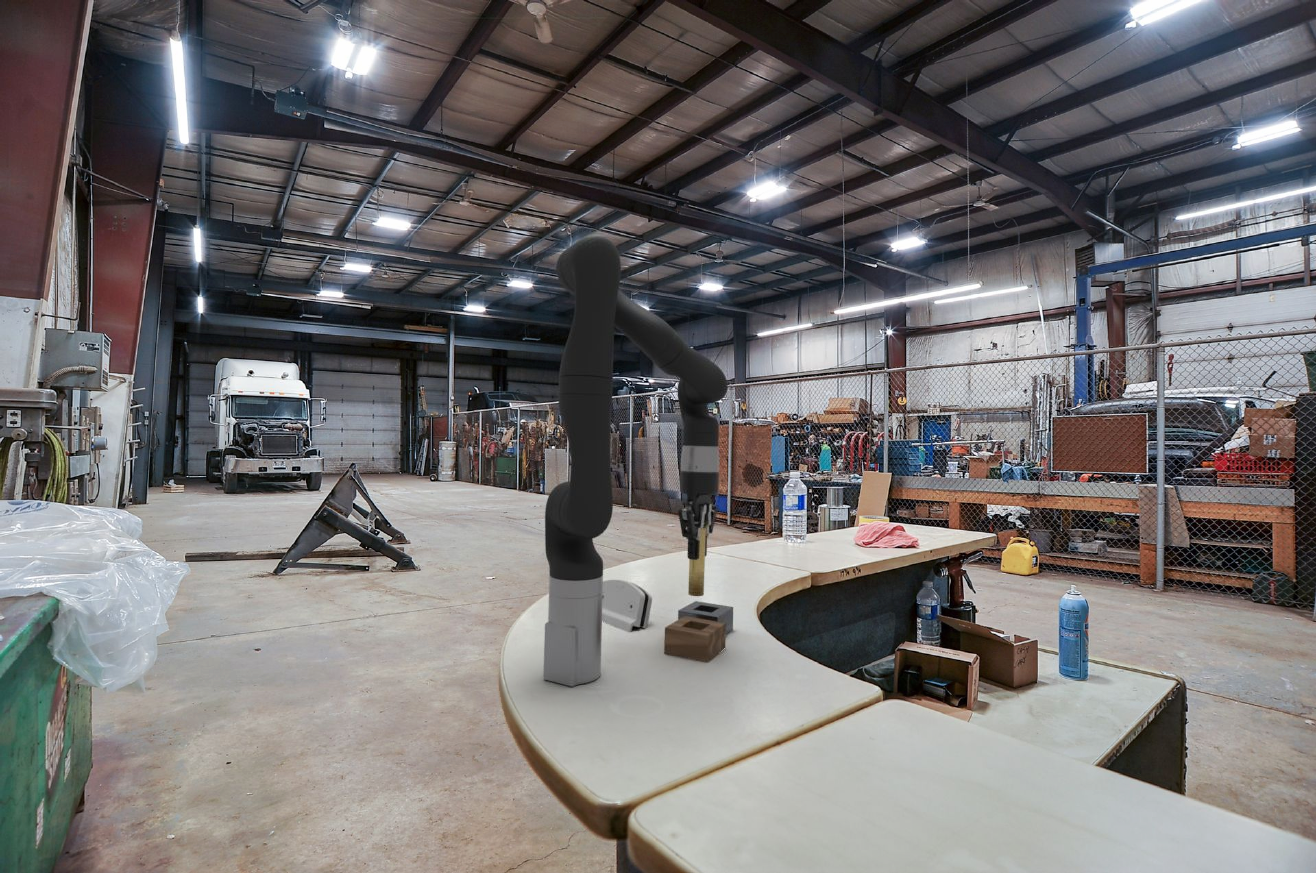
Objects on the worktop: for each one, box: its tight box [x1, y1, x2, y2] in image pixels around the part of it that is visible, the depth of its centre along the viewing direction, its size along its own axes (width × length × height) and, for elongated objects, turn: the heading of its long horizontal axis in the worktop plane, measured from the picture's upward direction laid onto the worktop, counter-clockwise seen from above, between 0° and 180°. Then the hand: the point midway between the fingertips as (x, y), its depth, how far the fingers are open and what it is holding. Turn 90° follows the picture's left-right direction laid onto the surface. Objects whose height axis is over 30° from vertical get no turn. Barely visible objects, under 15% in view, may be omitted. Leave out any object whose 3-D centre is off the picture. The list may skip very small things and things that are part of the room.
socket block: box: [677, 600, 734, 636], centre depth 129 cm, size 9×9×5 cm
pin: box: [687, 527, 706, 597], centre depth 117 cm, size 3×3×13 cm
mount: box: [663, 616, 727, 663], centre depth 117 cm, size 9×9×5 cm
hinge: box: [602, 579, 653, 633], centre depth 136 cm, size 17×5×10 cm, turn 42°
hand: (697, 557), depth 117 cm, fingers closed on pin, 3 cm apart
